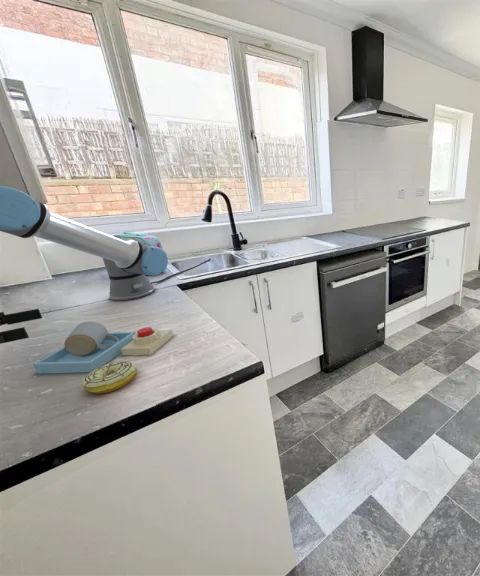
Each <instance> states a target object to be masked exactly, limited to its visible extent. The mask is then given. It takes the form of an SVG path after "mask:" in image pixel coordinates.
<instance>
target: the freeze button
mask: <svg viewBox="0 0 480 576" xmlns="http://www.w3.org/2000/svg"><path fill="white" fill-rule="evenodd" d="M152 329H153V327H151V326H146V327H142V328H139V329H137V330H136V331H137V332H136V333H138V336H139V337H146V336H149V335H152V334H153V330H152Z"/></svg>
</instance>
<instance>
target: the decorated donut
mask: <svg viewBox="0 0 480 576" xmlns="http://www.w3.org/2000/svg"><path fill="white" fill-rule="evenodd" d="M137 369H138V366H137V364H136V363H135V362H132V361H122V360H121V361H120V360H119V361H113V362H108V363H106V364H104V365H103V366H101V367H99V368H97V369H96V370H94V371H92V372H88V374H87V375H86V376H85V377H83V379H82V380H81V386H82V389H83V390H85V391H86V392H87V393H91V394H95V395H101V394H106V393H111V392H113V391H117V390H120V389H122V388H124V387H126V385H128V384H129V383H130V382H131V381H133V380H134V379H135V377H136V375H137Z"/></svg>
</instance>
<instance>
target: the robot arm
mask: <svg viewBox="0 0 480 576" xmlns="http://www.w3.org/2000/svg"><path fill="white" fill-rule="evenodd" d="M0 232H2V233H5V234H9V235H11V236H14V237H19V238H21V239H29V238H33V237H35V238H39V239H42V240H45V241H48V242H51V243H54V244H58V245H61V246H64V247H66V248H67V247H68V248H69V249H70V248H71V249H74V250H76V251H80V252H83V253H86V254H89V255H92V256H95V257H98V258H102V261H103V264H104V266H105V269H106V272H107V275H108V278H109V281H110V283H109V298H110V300H112V301H116V302H117V301H118V302H119V301H131V300H135V299H139V298H143V297H146V296H148V295H151V294H153V293H154V292H155V288H154V285H153V284H159V283H161V282H164V281H166V280H167V279H170V278H172V277H174V276H178V275H180V274H183V273H185V272H188V271H190V270H193V269H195V268H198V267H199V266H202V265H204V264H206V263H207V262H209V261H211V260H212V258H208V259H207V260H204V261H203V262H201V263H199V264H196V265H195V266H192V267H189V268H187V269H184V270H182V271H179V272H176V273H173V274H170V275H168V276H167V277H165V278H162V279H160V280H155V281H152V282H151V281H150V280H149V279H148V277H147V276H158V275H160V274H162V273H164V272H165V271H166V270H167V268H166V267H168V264H169V258H168V254H167V252H166V251H165V250H164V249H163V248H162V249H161V248H159V247H156V246H148V245H145V244H143V243H140V242H137V241H135V240H126V241H124V240H121V239H119V238H116V237H114V236H113V235H111V234H108V233H106V232H104V231H101V230H98V229H95V228H93V227H90V226H89V225H88V226H87V225H85V224H82V223H80V222H77V221H75V220H72V219H69V218H67V217H65V216H63V215H60V214H57V213H54V212H52V211H49V208H48V207H47V205H46V204H45V203H43V202H40V201H38V200H35V199H34V198H33V197H32V196H31V195H29V194H27V193H26V192H24V191H22V190H19V189H17V188H15V187H11V186H7V185H0ZM165 269H166V270H165ZM164 270H165V271H164ZM42 318H43V316H42V313H41V311H40V309H39V308H35V309H34V308H33V309H29V310H24V311H18V312H13V313H8V314H5V312H4V311H0V327H1V326H4V325H7V326H9V325H15V324H19V323H25V322H29V321H36V320H40V319H42ZM28 338H30V337H29V334H28V331H27V330H26V327H25V326H23V327H18V328H13V329H8V330H3V331H0V345H2V344H6V343H10V342H15V341H20V340H26V339H28Z"/></svg>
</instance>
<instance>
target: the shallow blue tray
mask: <svg viewBox="0 0 480 576" xmlns="http://www.w3.org/2000/svg"><path fill="white" fill-rule="evenodd" d="M136 333H137V332H136V331H120V332H119V331H118V332H115V331H114V332H108V334H109V335H113V336H115V337H117V338H118V339H119V342H117V343H116V342H115V341H113V340H110V339H106V340H105V341H104V342H103V343H102V345H110V344H114V343H116V344H114V345H113V346H111V347H110V348H108V349H96V350H95V351H94V352H92V353H91V354H89V355H85V356H77V355H73V354H71V353H69V352H68V351H67V350H66V349H65V346H64V345H63V347H60V348H59V349H58V350H55V351H54V352H52V353H50V354H49V355H47V356H46V357H44V358H42V359H40V360H38V361H36V362H35V363H33V367H34V368H35V371H36V373H37V374H39V375H41V374H76V373H90V372H92V371H94V370H96V369H97V368H99V367H101V366H103V365H105V364H108V363H110V362H111V360H113V359H114V358H116V357H117V356H118V355H120V354H122V352H121V348H123V347H124V346H126V345H127V344H128V343H130V342H131V341H133V339H132V337H133V335H134V334H136Z"/></svg>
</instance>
